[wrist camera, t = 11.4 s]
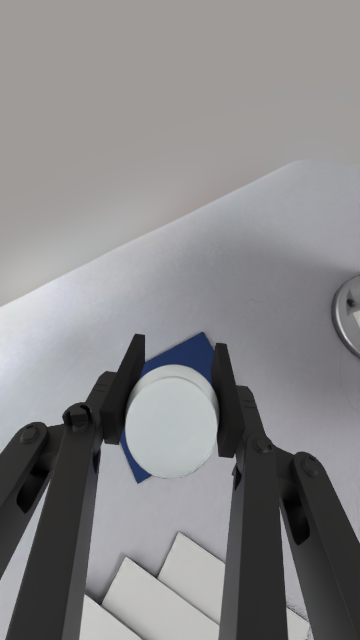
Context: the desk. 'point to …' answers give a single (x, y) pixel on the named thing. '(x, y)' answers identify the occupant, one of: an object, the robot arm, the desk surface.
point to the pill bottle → (171, 421)
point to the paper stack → (167, 601)
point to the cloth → (187, 354)
